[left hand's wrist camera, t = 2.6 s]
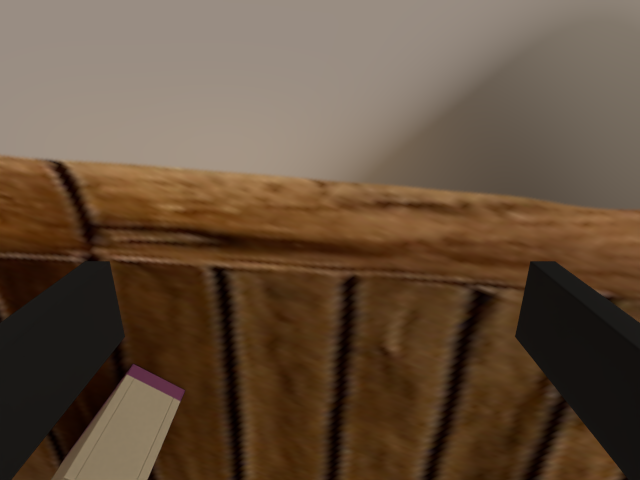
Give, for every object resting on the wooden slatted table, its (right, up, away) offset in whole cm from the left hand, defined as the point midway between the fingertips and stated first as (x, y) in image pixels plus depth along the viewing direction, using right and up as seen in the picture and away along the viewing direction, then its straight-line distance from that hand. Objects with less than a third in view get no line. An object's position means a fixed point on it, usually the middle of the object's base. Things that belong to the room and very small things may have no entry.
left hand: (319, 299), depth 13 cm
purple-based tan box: (-17, -14, +21) cm, 30 cm away
